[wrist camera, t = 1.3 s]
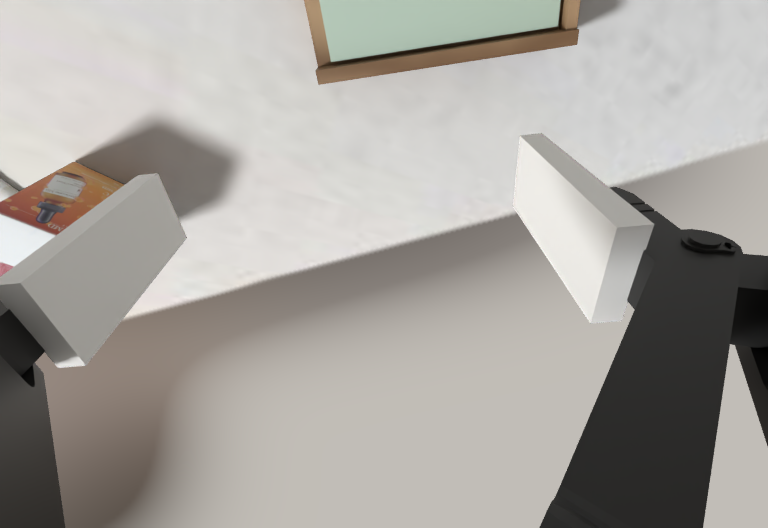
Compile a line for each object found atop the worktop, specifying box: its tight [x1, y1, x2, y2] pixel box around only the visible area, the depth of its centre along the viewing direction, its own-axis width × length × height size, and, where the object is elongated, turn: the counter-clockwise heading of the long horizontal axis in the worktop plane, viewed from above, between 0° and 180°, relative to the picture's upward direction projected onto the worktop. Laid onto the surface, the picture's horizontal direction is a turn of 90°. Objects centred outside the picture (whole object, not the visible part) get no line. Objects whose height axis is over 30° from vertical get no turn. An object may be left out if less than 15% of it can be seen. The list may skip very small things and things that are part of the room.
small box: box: [0, 162, 124, 267], centre depth 37 cm, size 8×6×10 cm
